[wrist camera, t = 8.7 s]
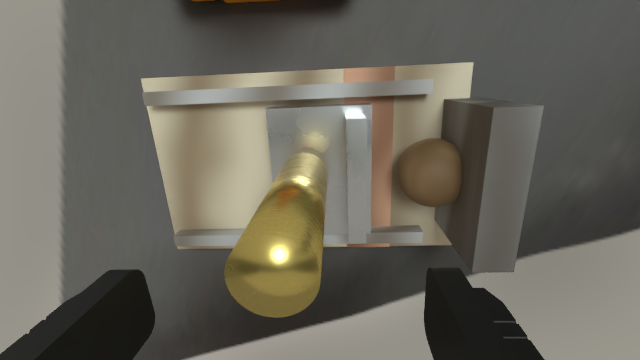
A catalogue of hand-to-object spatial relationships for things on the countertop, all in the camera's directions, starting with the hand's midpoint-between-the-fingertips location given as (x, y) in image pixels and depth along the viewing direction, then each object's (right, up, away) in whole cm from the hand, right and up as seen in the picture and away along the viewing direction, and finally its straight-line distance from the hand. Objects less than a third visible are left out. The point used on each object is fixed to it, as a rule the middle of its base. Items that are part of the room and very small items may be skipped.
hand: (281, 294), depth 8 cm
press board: (0, +5, +13) cm, 14 cm away
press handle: (+1, +4, +11) cm, 12 cm away
